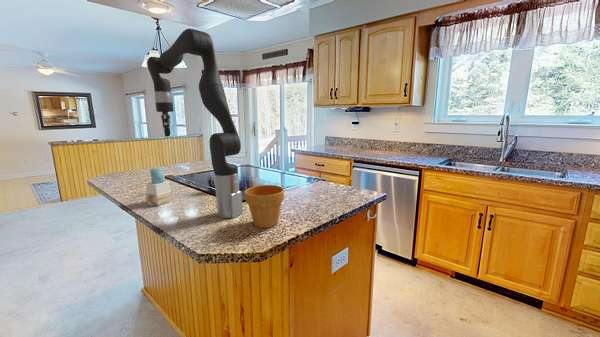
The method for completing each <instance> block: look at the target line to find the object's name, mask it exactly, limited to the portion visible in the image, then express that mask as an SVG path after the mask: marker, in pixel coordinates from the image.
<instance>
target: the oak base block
mask: <svg viewBox="0 0 600 337" xmlns="http://www.w3.org/2000/svg"><path fill="white" fill-rule="evenodd" d="M145 198H146V205H149V206H154V207H157V208H158V207H162V206H164V205H166V204H169V203H172V202H174V194H173V191H171V192H168V193H165V194H162V195H158V196H156V195H151V194H147V193H145ZM161 205H162V206H161Z"/></svg>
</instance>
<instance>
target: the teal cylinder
mask: <svg viewBox="0 0 600 337" xmlns="http://www.w3.org/2000/svg"><path fill="white" fill-rule="evenodd" d="M149 172H150V179H151V182H152V184H159V183H163V182H164V181H165V180H164V172H163V168H161V167H160V168H153V169H150V170H149Z"/></svg>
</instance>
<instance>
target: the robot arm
mask: <svg viewBox="0 0 600 337" xmlns="http://www.w3.org/2000/svg"><path fill="white" fill-rule="evenodd" d="M185 54H190V55H193V56H198V57H200V58H201V59H202V60H201V61H202V64H203V72H202V74H201V76H200V79H199V82H198V91H199V94H200V99H201V101H202V103H203V105H204V107H205V108H206V110H207V111H208V112H209V113H210V114H211V115H212V116H213V117H214V118H215V119H216V121H217V122H218V123H219V125H220V127H221V129H222V132H218V133H212V134H211V135H210V138H209V142H208V143H209V151H210V152H209V153H210V158H211V165H212V170H213V176H214V187H215V199H216V211H217V212H216V213H217V216H218V217H219V218H222V219H234V218H236V217H238V216H241V215H242V214H244V212H243V199H242V198H243V194H242V191H241V190H240V182H239V181H240V180H239V169H238V165H236V164H234V163H229V162H227V159H226V157H230V156H236V155H238V154H239V153H240V152H241V146H242V144H241V140H240V135H239V133H238V131H237V127H236V125H235V123H234V120H233V117H232V114H231V111H230V108H229V105H228V101H227V96H226V93H225V89H224V87H223V82H222V80H221V76H220V71H219V68H218V63H217V58H216V51H215V47H214V42H213V38H212V37H211V35H210V33H208V32H205V31H201V30H197V29H194V28H186V29H185V30H183V31H182V32H181V33H180V35H179V36H178V37H177V39H175V41H174V42H173V43H172V45H171V46H170V47H168V49H166V50H164V52H162V53H161V54H160V55H159V57H157V56H149V57H148V59H147V61H146V66H147V70H148V71H149V75H150V77H151V79H152V82H153V89H154V90H153V91H154V104H155V110H156V112H157V113H162V114H161V116H160V120H161V125H162V128H163V133H164V136H165V138H166V137H170V135H171V133H172V132H171V115H170V112H171V113H172V112H174V104H173V103H174V102H173V95H172V90H171V89H172V88H171V83H170V82H171V81H170V79H167V78H164V77H162V76H161V74H164V75H168V74H171V73H172V72H173V70H174V69H175V67H176V66H178V65H180V64H181V63H182V61H183V59H184V55H185Z"/></svg>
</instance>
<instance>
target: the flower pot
mask: <svg viewBox="0 0 600 337" xmlns="http://www.w3.org/2000/svg"><path fill="white" fill-rule="evenodd" d="M244 197H245V198H244V199H245V203H246V204H248V207H249V211H250V214H251V218H252V221H253V225H254V226H255V227H257V228H262V229H265V228H266V229H267V228H268V229H269V228H273V227H275V226H277V225H278V224H279V220H280V213H281V206H282V202H283V201H284V199H285V190H284V188H283V187H282V186H280V185H274V184H262V185H255V186H251V187H248V188H247V189H245V190H244Z"/></svg>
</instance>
